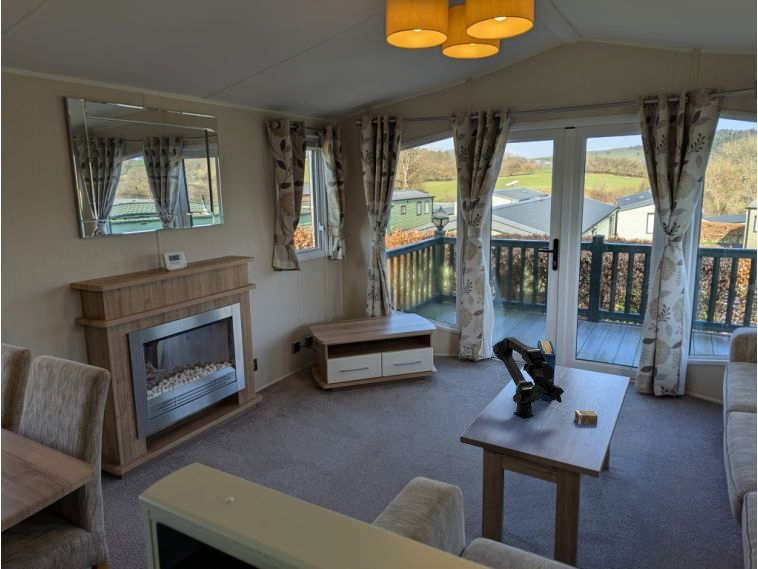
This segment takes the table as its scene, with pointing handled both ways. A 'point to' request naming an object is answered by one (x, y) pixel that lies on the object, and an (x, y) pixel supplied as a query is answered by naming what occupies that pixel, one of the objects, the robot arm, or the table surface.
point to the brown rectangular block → (586, 417)
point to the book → (547, 359)
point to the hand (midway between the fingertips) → (560, 402)
